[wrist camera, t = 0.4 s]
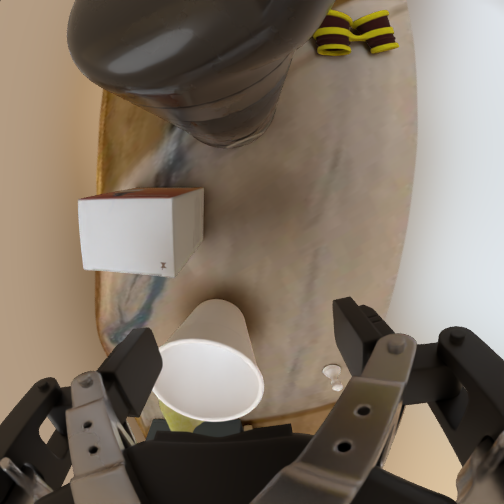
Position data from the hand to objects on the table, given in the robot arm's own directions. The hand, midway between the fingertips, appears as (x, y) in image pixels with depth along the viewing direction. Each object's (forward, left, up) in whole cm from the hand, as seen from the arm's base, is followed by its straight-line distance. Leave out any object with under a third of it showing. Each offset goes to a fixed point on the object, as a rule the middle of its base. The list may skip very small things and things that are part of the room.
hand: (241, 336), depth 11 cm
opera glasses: (-21, +14, -18) cm, 31 cm away
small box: (-4, -8, -18) cm, 20 cm away
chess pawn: (+19, +8, -18) cm, 27 cm away
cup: (+9, -5, -18) cm, 21 cm away
